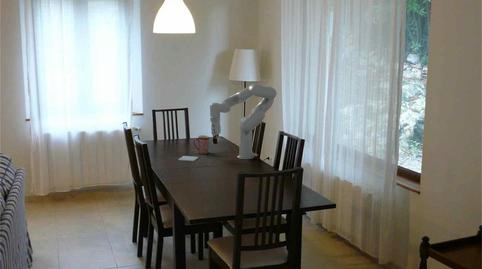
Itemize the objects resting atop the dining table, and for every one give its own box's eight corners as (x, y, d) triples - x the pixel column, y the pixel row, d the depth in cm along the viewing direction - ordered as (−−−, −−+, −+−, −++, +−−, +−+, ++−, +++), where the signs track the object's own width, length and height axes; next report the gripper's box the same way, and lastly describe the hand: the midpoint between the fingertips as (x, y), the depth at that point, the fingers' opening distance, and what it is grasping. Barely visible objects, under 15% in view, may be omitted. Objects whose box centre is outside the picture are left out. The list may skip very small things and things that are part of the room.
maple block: (220, 142, 396) (220, 136, 395) (218, 144, 391) (218, 137, 390) (213, 142, 397) (213, 136, 396) (212, 144, 392) (211, 137, 391)
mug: (209, 151, 418) (209, 135, 415) (209, 154, 409) (209, 137, 406) (193, 151, 416) (193, 135, 414) (193, 154, 407) (193, 137, 405)
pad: (198, 157, 396) (198, 156, 395) (193, 161, 384) (193, 160, 384) (183, 156, 398) (183, 155, 398) (178, 160, 387) (178, 159, 387)
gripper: (217, 121, 381) (217, 145, 385) (223, 117, 398) (223, 140, 401) (207, 121, 383) (208, 145, 386) (213, 117, 399) (214, 140, 403)
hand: (216, 142), depth 394 cm, fingers closed on maple block, 5 cm apart
